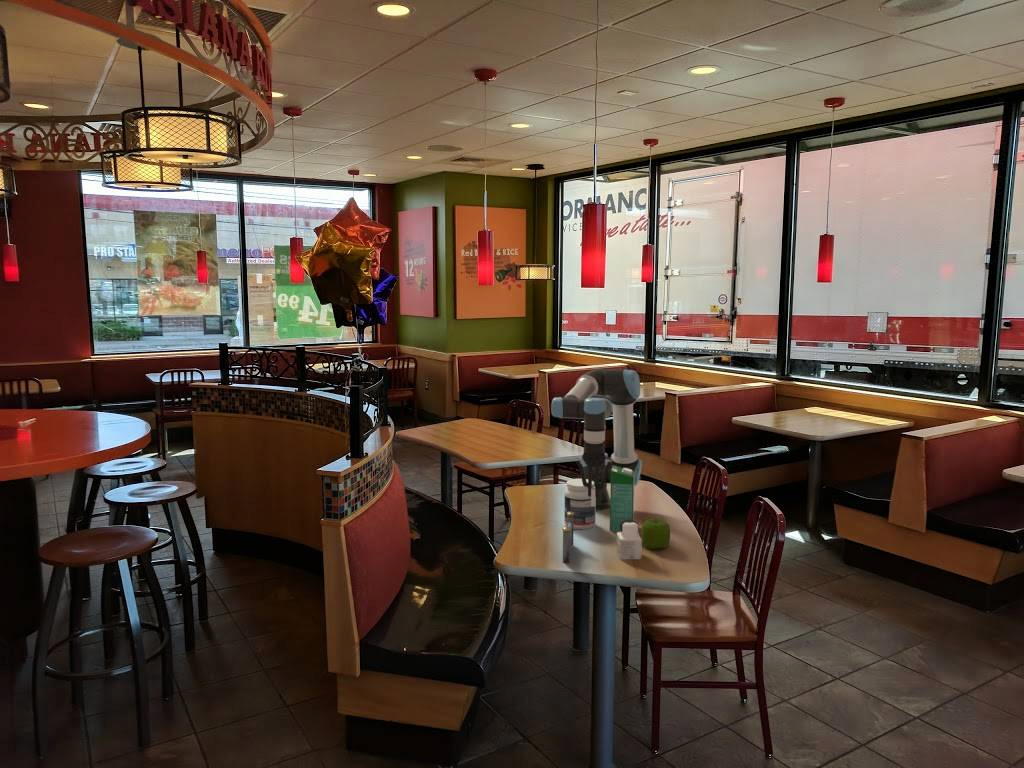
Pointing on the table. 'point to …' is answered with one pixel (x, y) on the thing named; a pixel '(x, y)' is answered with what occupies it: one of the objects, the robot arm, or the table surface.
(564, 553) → the gate posts
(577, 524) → the supplement tub
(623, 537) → the container
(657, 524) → the apple
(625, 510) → the milk carton
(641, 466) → the robot arm
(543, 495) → the table surface
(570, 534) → the gate
